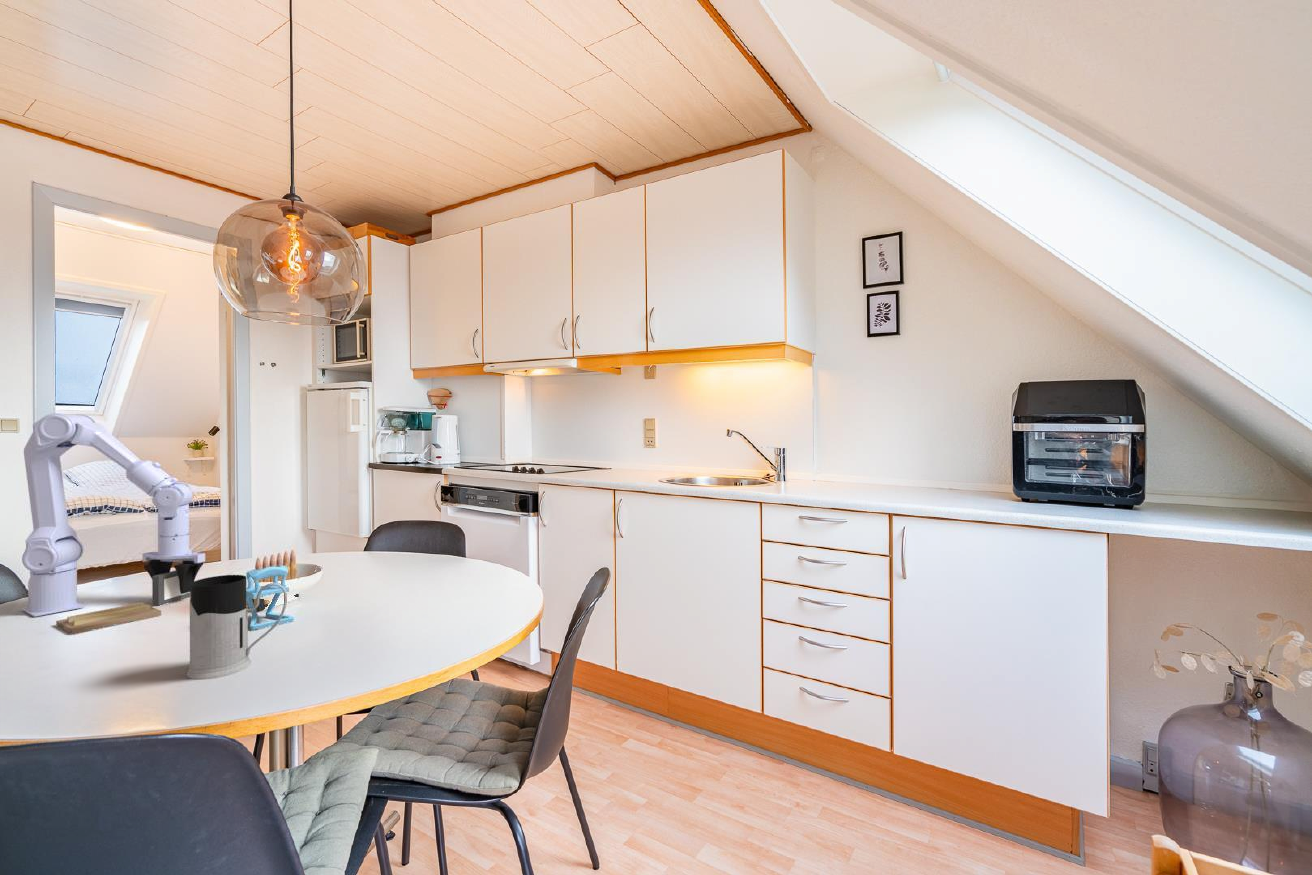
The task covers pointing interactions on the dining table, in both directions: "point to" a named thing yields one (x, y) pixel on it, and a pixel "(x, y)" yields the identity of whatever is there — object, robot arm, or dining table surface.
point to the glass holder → (221, 626)
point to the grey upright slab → (166, 589)
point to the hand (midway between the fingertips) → (174, 592)
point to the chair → (269, 590)
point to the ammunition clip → (290, 575)
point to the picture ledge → (107, 617)
